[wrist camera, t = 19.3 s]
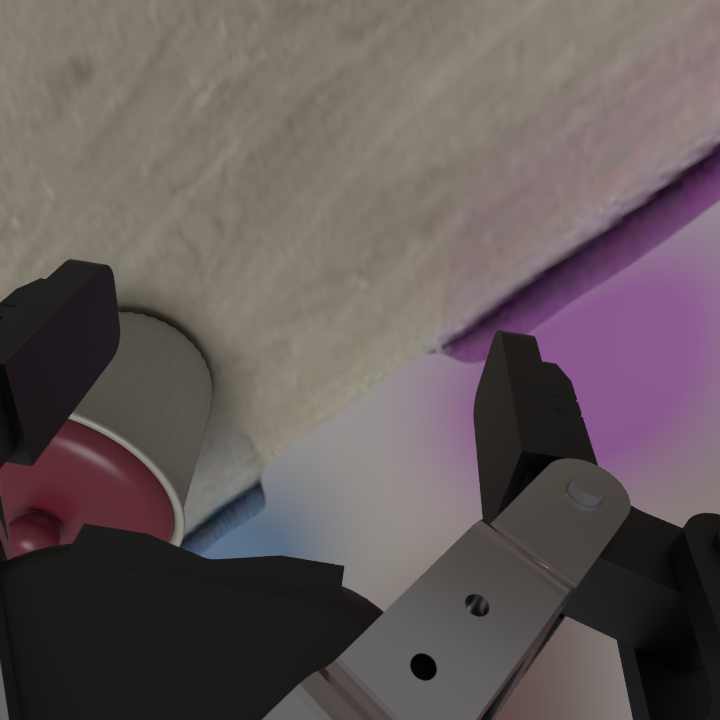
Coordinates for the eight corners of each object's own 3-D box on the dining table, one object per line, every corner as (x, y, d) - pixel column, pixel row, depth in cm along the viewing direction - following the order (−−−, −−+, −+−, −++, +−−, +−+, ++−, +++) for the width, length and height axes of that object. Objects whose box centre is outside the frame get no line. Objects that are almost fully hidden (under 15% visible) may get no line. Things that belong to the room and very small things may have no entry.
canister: (172, 247, 48) (28, 421, 31) (278, 411, 57) (212, 616, 40) (6, 314, 53) (-195, 494, 36) (126, 454, 62) (12, 651, 45)
